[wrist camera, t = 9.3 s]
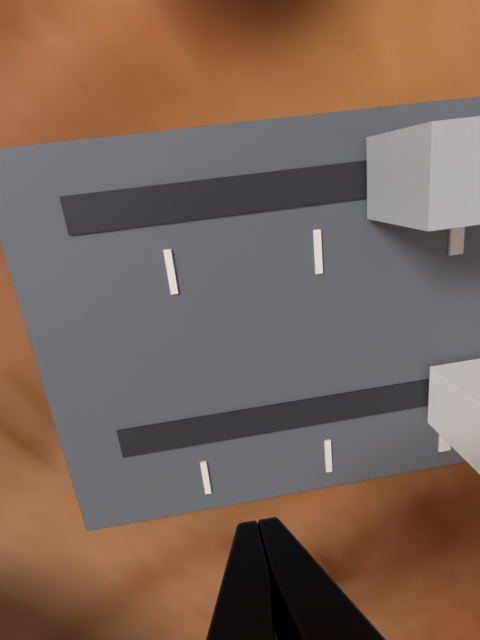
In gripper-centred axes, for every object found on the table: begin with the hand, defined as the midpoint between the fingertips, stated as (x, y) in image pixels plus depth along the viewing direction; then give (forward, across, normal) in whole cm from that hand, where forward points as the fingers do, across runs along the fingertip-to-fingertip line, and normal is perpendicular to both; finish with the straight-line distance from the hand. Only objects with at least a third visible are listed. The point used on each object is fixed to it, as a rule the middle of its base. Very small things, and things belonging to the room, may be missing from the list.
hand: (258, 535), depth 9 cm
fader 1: (+9, -8, -7) cm, 14 cm away
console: (+12, -5, -1) cm, 13 cm away
